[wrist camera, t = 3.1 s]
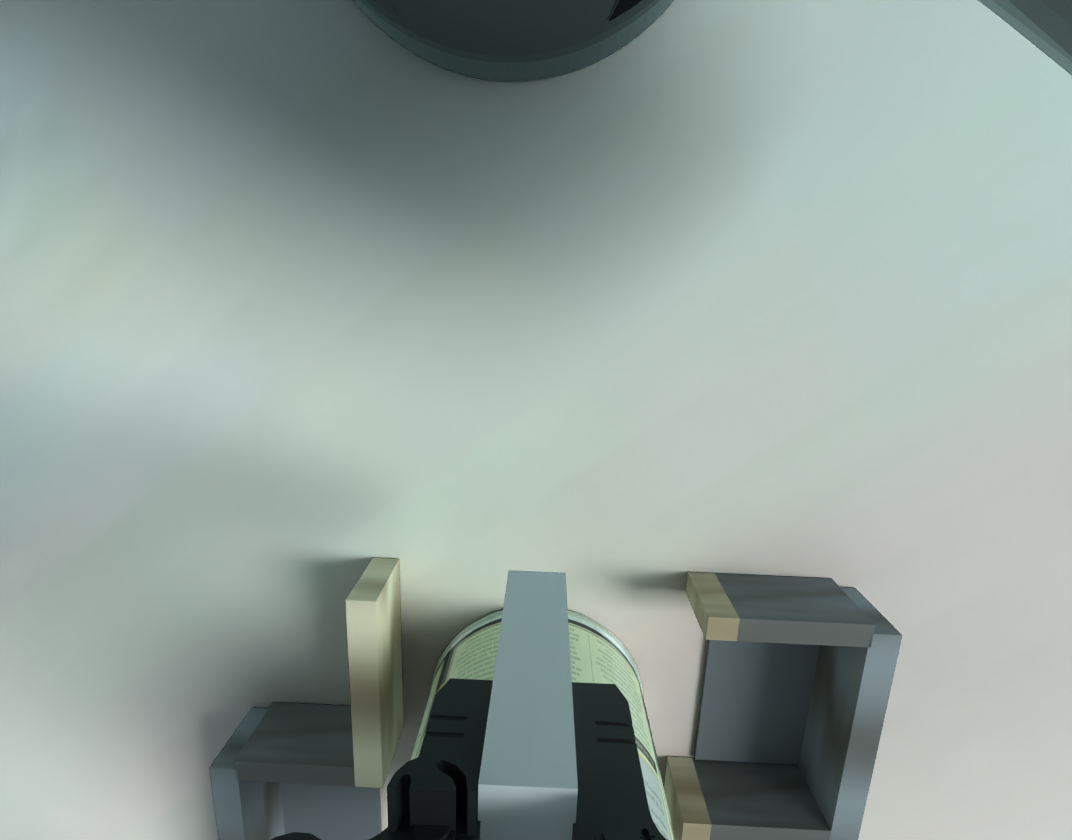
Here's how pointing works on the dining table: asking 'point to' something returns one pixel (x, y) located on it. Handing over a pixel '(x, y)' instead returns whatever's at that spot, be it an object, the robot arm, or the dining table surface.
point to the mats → (723, 735)
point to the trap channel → (690, 785)
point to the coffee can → (591, 662)
